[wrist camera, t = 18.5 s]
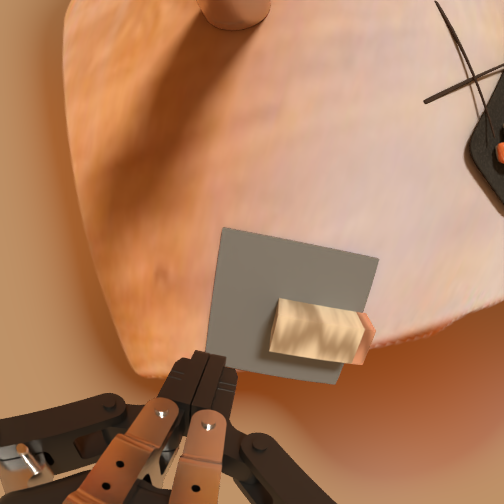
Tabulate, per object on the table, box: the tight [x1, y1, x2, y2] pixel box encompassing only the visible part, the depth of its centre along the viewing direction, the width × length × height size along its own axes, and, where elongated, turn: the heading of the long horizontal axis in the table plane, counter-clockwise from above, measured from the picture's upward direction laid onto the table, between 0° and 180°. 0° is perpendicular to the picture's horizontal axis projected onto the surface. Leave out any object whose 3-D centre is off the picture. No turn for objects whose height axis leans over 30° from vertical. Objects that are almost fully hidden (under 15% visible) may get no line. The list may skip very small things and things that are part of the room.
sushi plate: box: [423, 1, 504, 204], centre depth 25 cm, size 29×30×4 cm
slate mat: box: [205, 227, 379, 384], centre depth 38 cm, size 20×20×1 cm
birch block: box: [269, 298, 376, 365], centre depth 35 cm, size 5×5×12 cm
